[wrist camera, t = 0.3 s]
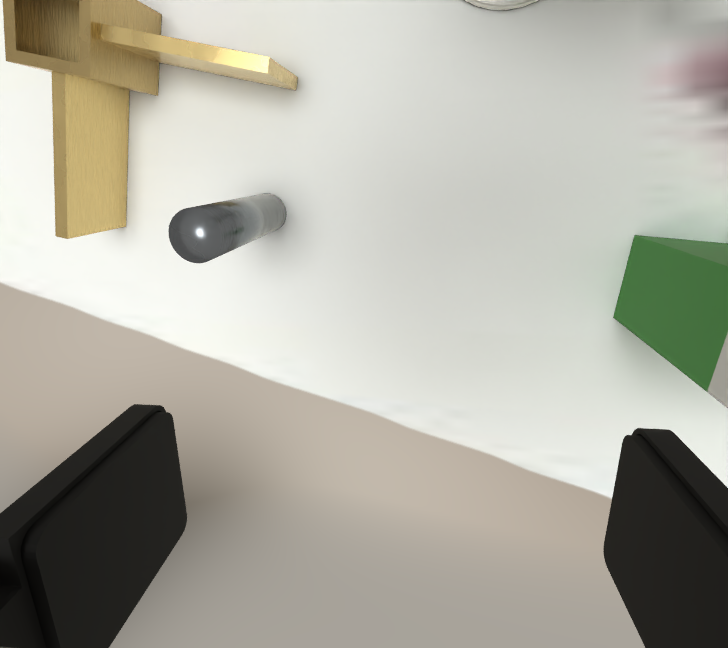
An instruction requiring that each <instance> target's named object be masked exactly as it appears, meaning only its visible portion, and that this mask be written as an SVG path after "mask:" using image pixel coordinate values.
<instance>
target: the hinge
mask: <svg viewBox="0 0 728 648" xmlns="http://www.w3.org/2000/svg"><path fill="white" fill-rule="evenodd" d="M3 14H4V33H5V52H6V61H8V62H12V63H16V64H20V65H24V66H28V67H32V68H37V69H41V70H45V71H49V72H52V102H53V144H54V185H55V227H56V236H57V237H62V238H66V239H69V238H74V237H79V236H83V235H88V234H93V233H97V232H102V231H107V230H112V229H116V228H121V227H126V204H127V165H128V126H129V90H132V91H137V92H142V93H147V94H152V95H157V96H158V84H159V63H163V64H168V65H173V66H178V67H183V68H188V69H193V70H198V71H203V72H208V73H213V74H218V75H223V76H228V77H233V78H237V79H242V80H247V81H252V82H257V83H262V84H267V85H272V86H277V87H282V88H287V89H292V90H296V87H297V80H298V77H297V76H295V75H294V74H292V73H291V72H290V71H288V70H287V69H285V68H284V67H283V66H281V65H280V64H278V63H277V62H275V61H274V60H273V59H271V58H270V57H266V56H261V55H256V54H251V53H246V52H241V51H236V50H231V49H226V48H221V47H216V46H211V45H206V44H201V43H196V42H191V41H186V40H181V39H176V38H171V37H166V36H161V16H162V14H160V13H158V12H156V11H155V10H153V9H151V8H149V7H148V6H146V5H144V4H142V3H141V2H139V1H137V0H3Z"/></svg>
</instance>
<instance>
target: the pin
mask: <svg viewBox="0 0 728 648" xmlns="http://www.w3.org/2000/svg"><path fill="white" fill-rule="evenodd" d="M285 219H286V209H285V206H284V204H283V202H282V201H281V200H280V199H279V198H278V197H277V196H275V195H273V194H260V195H254V196H249V197H244V198H239V199H233V200H228V201H223V202H217V203H212V204H207V205H202V206H196V207H191V208H186V209H183V210H181V211H179V212H178V213H177V214H175V216H174V217H173V218H172V220H171V222H170V225H169V238H170V242H171V245H172V246H173V248H174V250H175V251H176V252H177V253H178V254H179V255H180V256H181V257H182V258H183V259H185V260H187V261H189V262H193V263H204V262H207V261H210V260H212V259H214V258H216V257H218V256H221V255H223V254H225V253H227V252H229V251H231V250H234V249H236V248H238V247H240V246H242V245H245V244H247V243H249V242H251V241H253V240H256V239H258V238H260V237H262V236H264V235H266V234H269V233H271V232H273V231H275V230H277V229H279V228H280V227H281V226H282V225H283V224H284V222H285Z"/></svg>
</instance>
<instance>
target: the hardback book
mask: <svg viewBox="0 0 728 648" xmlns="http://www.w3.org/2000/svg"><path fill="white" fill-rule="evenodd" d="M613 318H615V319H616V320H617V321H619V322H620V323H621V324H622V325H624V326H625V327H626V328H627V329H629V330H630V331H631V332H632V333H634V334H635V335H636V336H637V337H639V338H640V339H641V340H642V341H644V342H645V343H646V344H647V345H649V346H650V347H651V348H653V349H654V350H655V351H656V352H658V353H659V354H660V355H661V356H663V357H664V358H665V359H666V360H668V361H669V362H670V363H671V364H673V365H674V366H675V367H676V368H678V369H679V370H680V371H681V372H683V373H684V374H685V375H687V376H688V377H689V378H690V379H692V380H693V381H694V382H695V383H697V384H698V385H699V386H700V387H702V388H703V389H704V390H705V391H707V392H708V393H709V394H710V395H712V396H713V397H714V398H715V399H717V400H718V401H719V402H720V403H722V404H723V405H724V406H726V407H727V408H728V244H727V243H716V242H704V241H693V240H682V239H671V238H659V237H648V236H637V235H634V239H633V243H632V247H631V251H630V255H629V259H628V262H627V266H626V270H625V274H624V278H623V282H622V286H621V290H620V293H619V297H618V301H617V305H616V309H615V313H614V317H613Z"/></svg>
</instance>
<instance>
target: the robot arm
mask: <svg viewBox="0 0 728 648" xmlns="http://www.w3.org/2000/svg"><path fill="white" fill-rule="evenodd" d="M465 1H467V2H469V3H471V4H473V5H475V6H478V7H482V8H486V9H490V10H509V9H515V8H520V7H524V6H526V5H529V4H531V3H534V2H536V1H539V0H465ZM186 522H187V513H186V506H185V499H184V492H183V485H182V478H181V471H180V464H179V457H178V450H177V443H176V436H175V429H174V422H173V417H172V415H171V414H170V413H168V412H166V411H165V409H164V407H162V406H160V405H138V404H137V405H136V404H134V405H133V406H131V407H129V408H128V409H127V410H126V411H125V412H123V413H122V414H121V415H120V416H119V417H117V418H116V419H115V420H114V421H112V422H111V423H110V424H109V425H108V426H106V427H105V428H104V429H103V430H101V431H100V432H99V433H98V434H97V435H95V436H94V437H93V438H92V439H90V440H89V441H88V442H87V443H86V444H84V445H83V446H82V447H81V448H80V449H78V450H77V451H76V452H75V453H73V454H72V455H71V456H70V457H69V458H67V459H66V460H65V461H64V462H62V463H61V464H60V465H59V466H58V467H56V468H55V469H54V470H53V471H52V472H50V473H49V474H48V475H47V476H45V477H44V478H43V479H42V480H41V481H39V482H38V483H37V484H36V485H34V486H33V487H32V488H31V489H30V490H28V491H27V492H26V493H25V494H24V495H22V496H21V497H20V498H19V499H17V500H16V501H15V502H14V503H12V504H11V505H10V506H9V507H8V508H6V509H5V510H4V511H3V512H2V513H0V648H109V646H110V645H111V643H112V642H113V640H114V639H115V637H116V636H117V634H118V633H119V631H120V630H121V628H122V626H123V625H124V623H125V622H126V620H127V619H128V617H129V616H130V614H131V613H132V611H133V609H134V608H135V606H136V605H137V603H138V602H139V600H140V599H141V597H142V596H143V594H144V593H145V591H146V589H147V588H148V586H149V585H150V583H151V582H152V580H153V579H154V577H155V576H156V574H157V573H158V571H159V569H160V568H161V566H162V565H163V563H164V562H165V560H166V559H167V557H168V556H169V554H170V552H171V551H172V549H173V548H174V546H175V545H176V543H177V542H178V540H179V539H180V537H181V535H182V534H183V532H184V530H185V526H186ZM604 558H605V562H606V565H607V568H608V570H609V572H610V574H611V576H612V578H613V580H614V583H615V585H616V587H617V589H618V591H619V593H620V595H621V597H622V599H623V601H624V603H625V606H626V608H627V610H628V612H629V614H630V616H631V618H632V620H633V622H634V625H635V627H636V629H637V631H638V633H639V635H640V637H641V639H642V641H643V643H644V646H645V648H728V488H727V487H726V486H725V485H724V484H723V483H722V482H721V481H720V480H719V479H718V478H717V477H716V476H715V475H714V474H713V473H712V472H711V471H710V470H709V468H708V467H707V466H706V465H705V464H704V463H703V462H702V461H701V460H700V459H699V458H698V457H697V456H696V455H695V454H694V453H693V452H692V451H691V450H690V449H689V448H688V447H687V446H686V445H685V444H684V443H683V442H682V441H681V440H680V439H679V438H678V437H677V436H676V435H675V434H674V433H673V432H672V431H671V430H664V429H643V428H637V429H636V430H635V431H634V432H633V434H632V435H627V436H625V437H624V439H623V443H622V448H621V454H620V459H619V465H618V470H617V475H616V481H615V486H614V492H613V497H612V503H611V508H610V514H609V519H608V525H607V531H606V536H605V541H604Z"/></svg>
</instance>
